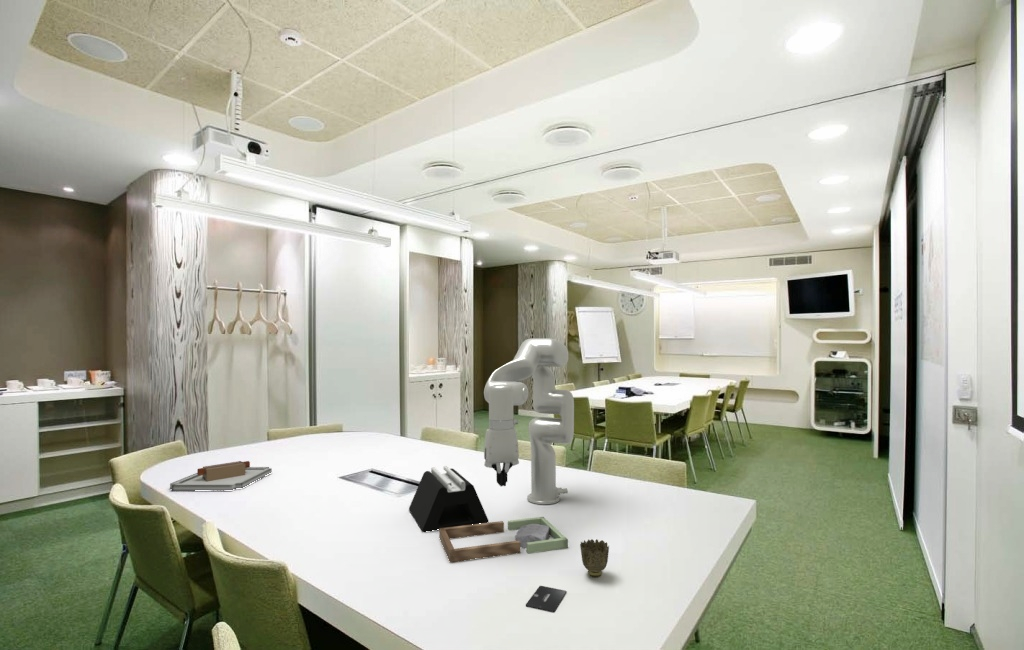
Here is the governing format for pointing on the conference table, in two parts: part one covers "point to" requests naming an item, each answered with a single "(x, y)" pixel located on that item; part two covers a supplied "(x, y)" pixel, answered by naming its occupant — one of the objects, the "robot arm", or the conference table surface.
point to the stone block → (532, 534)
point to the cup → (594, 556)
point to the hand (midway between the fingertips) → (501, 484)
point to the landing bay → (544, 545)
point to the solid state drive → (546, 599)
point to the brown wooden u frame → (476, 551)
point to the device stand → (446, 501)
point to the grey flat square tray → (221, 477)
